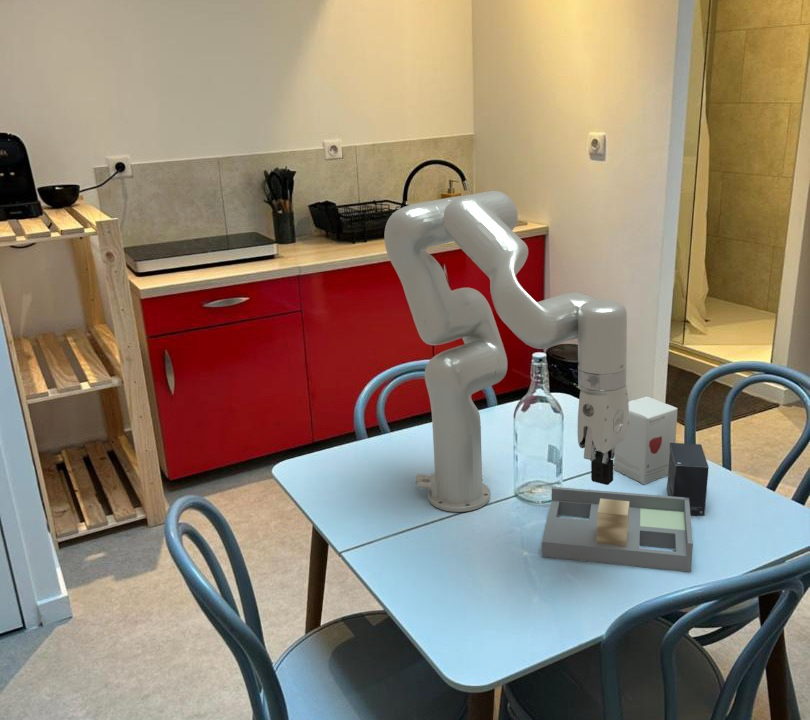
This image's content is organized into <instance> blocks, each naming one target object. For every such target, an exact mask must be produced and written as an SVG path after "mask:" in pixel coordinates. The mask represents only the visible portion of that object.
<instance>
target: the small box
mask: <svg viewBox="0 0 810 720" xmlns="http://www.w3.org/2000/svg"><path fill="white" fill-rule="evenodd" d="M708 478H709V465H708V461H707V458H706V454H705V452H704V448H703V446H702V444H701V443H700V444H698V443H684V442H683V443H681V442H675V443H670V454H669V469H668V475H667V482H666V493H667V496H673V497H685V498H689V504H690V516H705V511H706V503H707V502H706V500H707V491H708V490H707V489H708Z"/></svg>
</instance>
